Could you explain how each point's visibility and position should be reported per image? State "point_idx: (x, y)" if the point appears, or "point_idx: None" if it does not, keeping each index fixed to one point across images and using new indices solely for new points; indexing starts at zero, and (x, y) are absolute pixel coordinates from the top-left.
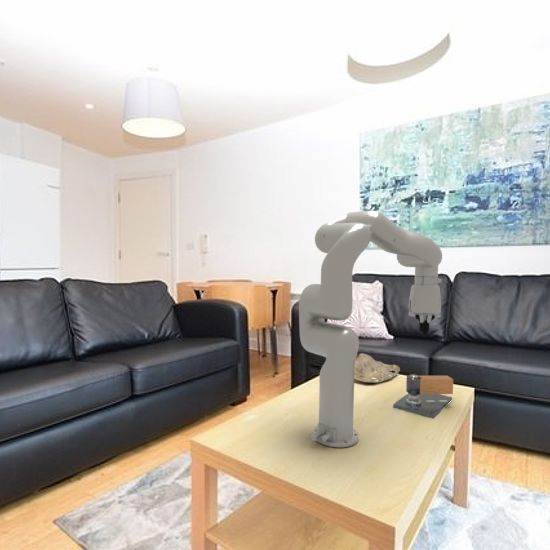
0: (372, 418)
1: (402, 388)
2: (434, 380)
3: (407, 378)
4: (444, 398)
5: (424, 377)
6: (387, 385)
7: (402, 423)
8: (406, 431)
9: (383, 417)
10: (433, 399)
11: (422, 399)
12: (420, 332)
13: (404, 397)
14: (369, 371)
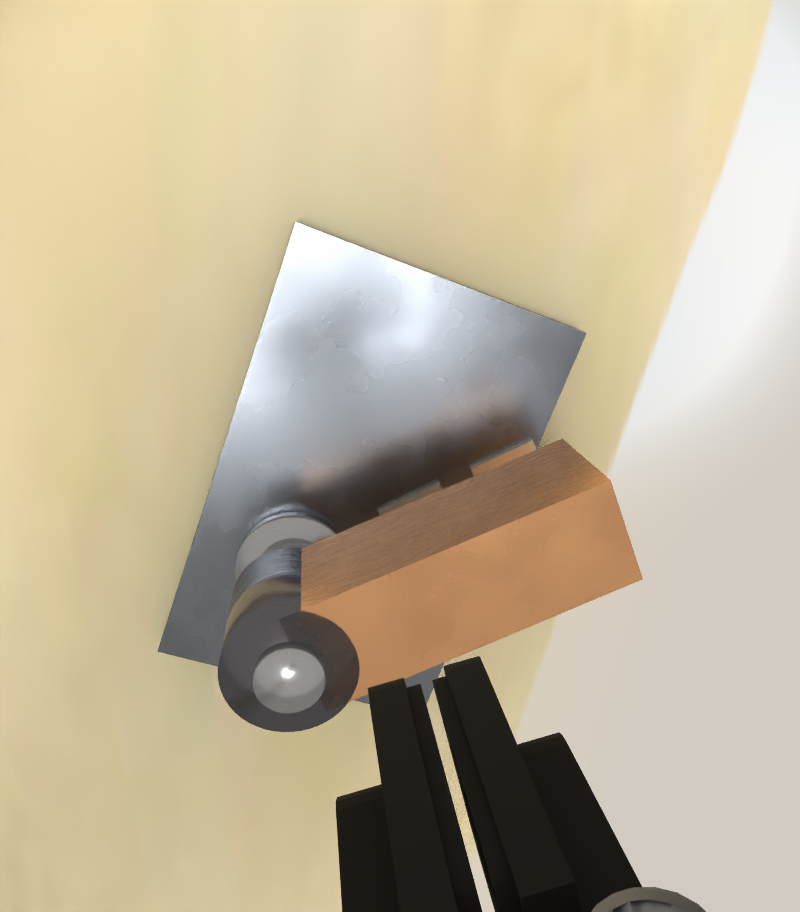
0: (68, 840)
1: (176, 168)
2: (471, 643)
3: (229, 700)
4: (524, 386)
5: (385, 634)
6: (20, 128)
7: (247, 829)
8: (275, 904)
9: (128, 802)
10: (439, 444)
11: (358, 478)
12: (370, 695)
13: (221, 490)
14: None
